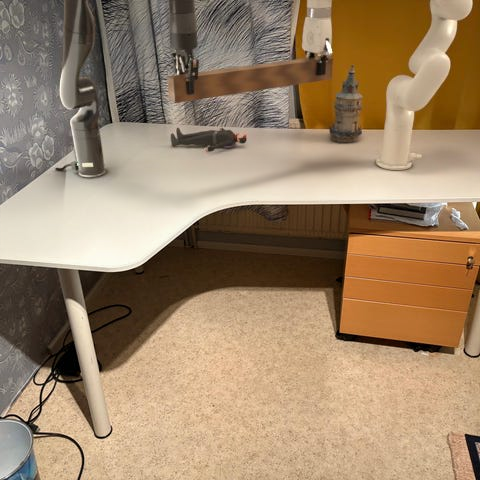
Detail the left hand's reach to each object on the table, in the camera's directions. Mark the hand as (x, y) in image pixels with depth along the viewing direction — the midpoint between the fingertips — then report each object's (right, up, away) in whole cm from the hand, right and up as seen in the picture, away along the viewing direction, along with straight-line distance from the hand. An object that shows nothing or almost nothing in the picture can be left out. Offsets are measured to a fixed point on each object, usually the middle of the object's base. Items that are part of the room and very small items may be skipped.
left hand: (186, 92), depth 156 cm
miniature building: (+59, -1, +65) cm, 88 cm away
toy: (+3, -5, +61) cm, 61 cm away
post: (+20, +4, +11) cm, 23 cm away
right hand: (+40, +12, +19) cm, 46 cm away
